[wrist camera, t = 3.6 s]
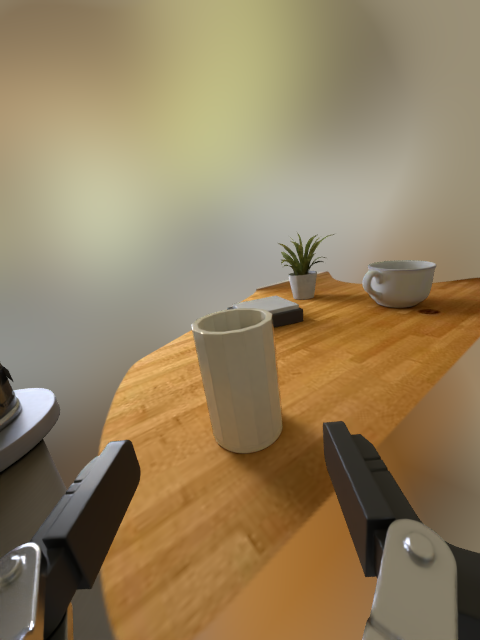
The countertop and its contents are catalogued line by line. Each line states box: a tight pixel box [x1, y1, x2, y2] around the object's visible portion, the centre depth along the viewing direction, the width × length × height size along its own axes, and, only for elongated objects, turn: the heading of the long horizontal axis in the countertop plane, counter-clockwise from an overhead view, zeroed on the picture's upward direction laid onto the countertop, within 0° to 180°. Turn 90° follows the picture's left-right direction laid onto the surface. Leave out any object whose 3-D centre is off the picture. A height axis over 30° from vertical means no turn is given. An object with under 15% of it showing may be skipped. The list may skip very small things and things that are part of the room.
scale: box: [227, 296, 303, 328], centre depth 50 cm, size 12×12×3 cm
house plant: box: [280, 234, 328, 299], centre depth 62 cm, size 14×14×16 cm
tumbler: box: [191, 308, 283, 453], centre depth 20 cm, size 6×6×10 cm
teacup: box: [363, 260, 436, 308], centre depth 47 cm, size 14×11×8 cm
